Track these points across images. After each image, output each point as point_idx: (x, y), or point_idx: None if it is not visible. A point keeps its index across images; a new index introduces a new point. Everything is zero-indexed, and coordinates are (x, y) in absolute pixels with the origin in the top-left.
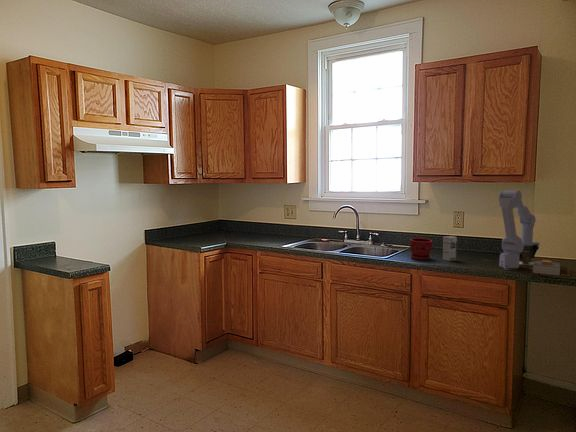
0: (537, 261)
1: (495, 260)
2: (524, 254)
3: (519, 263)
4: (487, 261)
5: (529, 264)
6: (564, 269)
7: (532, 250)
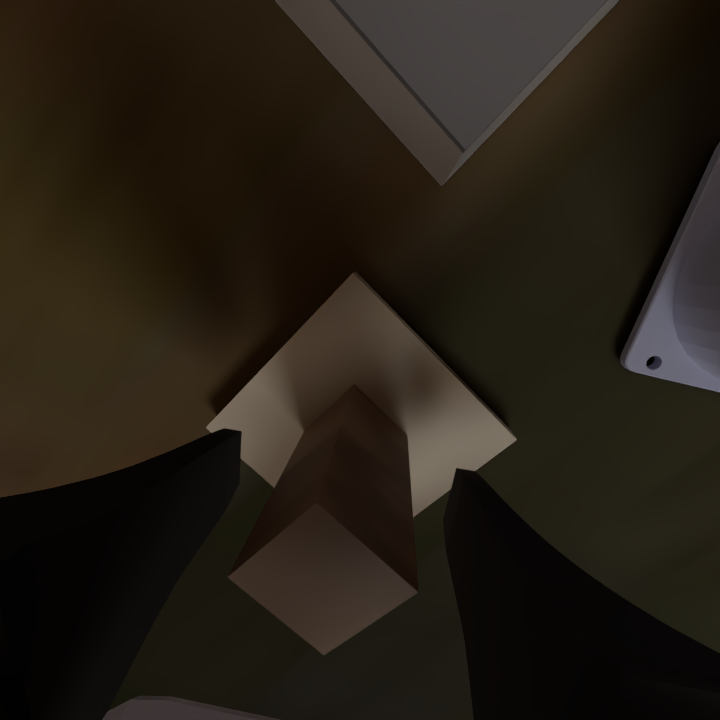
0: (469, 33)
1: None
2: (394, 514)
3: (447, 447)
4: None
5: (361, 357)
6: (15, 17)
7: (142, 563)
